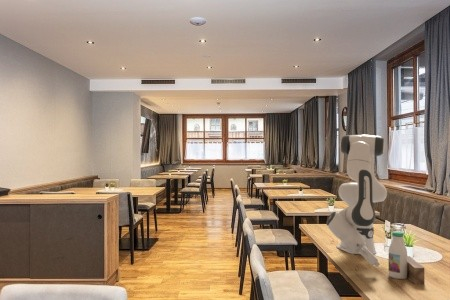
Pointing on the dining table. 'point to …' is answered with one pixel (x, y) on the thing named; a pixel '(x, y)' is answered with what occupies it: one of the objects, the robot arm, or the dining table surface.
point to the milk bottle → (397, 257)
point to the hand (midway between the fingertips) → (377, 264)
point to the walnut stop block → (415, 271)
